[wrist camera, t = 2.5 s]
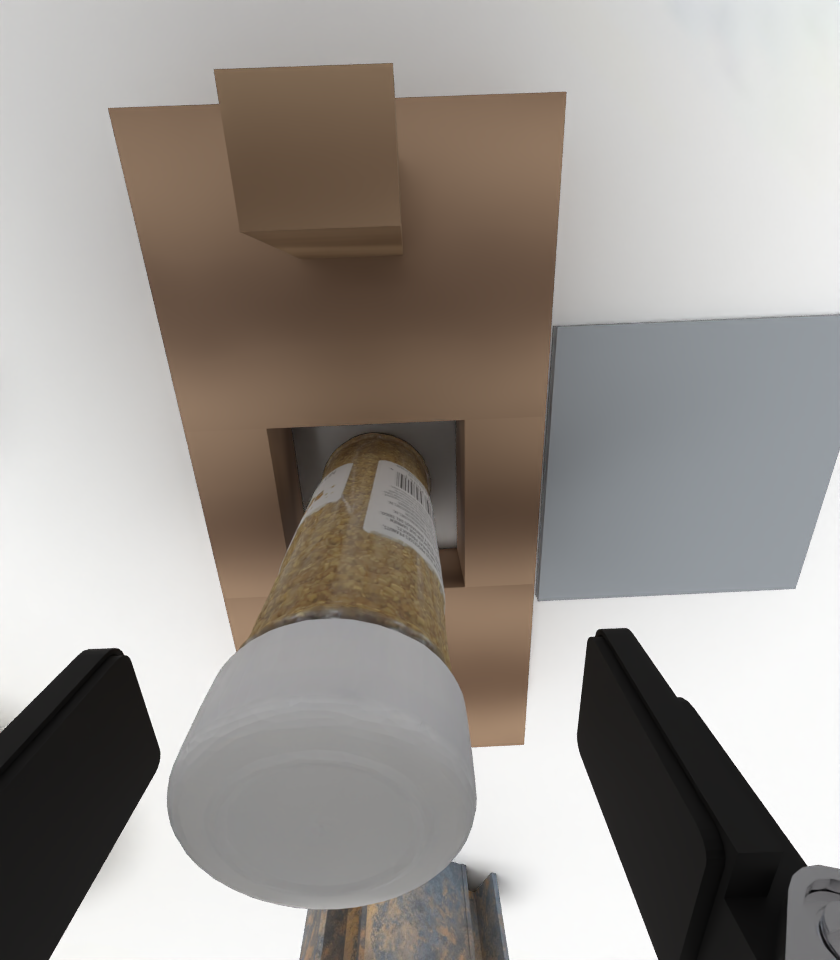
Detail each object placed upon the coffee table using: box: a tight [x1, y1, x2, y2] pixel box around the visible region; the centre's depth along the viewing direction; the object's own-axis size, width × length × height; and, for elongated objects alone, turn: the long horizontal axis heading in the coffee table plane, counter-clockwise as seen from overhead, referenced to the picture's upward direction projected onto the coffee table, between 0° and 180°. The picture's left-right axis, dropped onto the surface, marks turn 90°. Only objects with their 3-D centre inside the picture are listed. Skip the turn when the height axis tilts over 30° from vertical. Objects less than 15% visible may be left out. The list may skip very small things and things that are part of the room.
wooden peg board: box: [108, 63, 566, 747], centre depth 15 cm, size 24×12×8 cm, turn 2°
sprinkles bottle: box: [167, 433, 477, 909], centre depth 13 cm, size 5×5×13 cm
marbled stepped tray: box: [300, 862, 509, 960], centre depth 24 cm, size 11×3×10 cm, turn 63°
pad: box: [535, 315, 840, 601], centre depth 19 cm, size 12×12×1 cm
